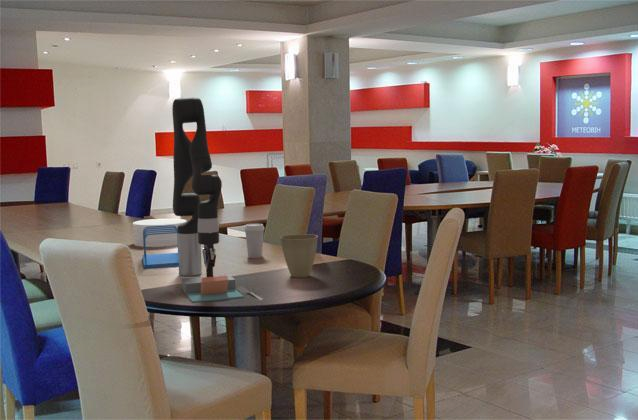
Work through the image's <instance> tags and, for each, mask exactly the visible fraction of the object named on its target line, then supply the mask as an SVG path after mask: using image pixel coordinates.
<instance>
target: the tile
mask: <svg viewBox="0 0 638 420" xmlns="http://www.w3.org/2000/svg"><path fill="white" fill-rule="evenodd" d="M214 276H215V277H205V276H203V277H204V278H202V281H201V294H202V295H209V294H219V293H227V287H228V277H227V276H217V275H214Z"/></svg>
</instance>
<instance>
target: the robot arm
mask: <svg viewBox="0 0 638 420" xmlns="http://www.w3.org/2000/svg"><path fill="white" fill-rule="evenodd" d="M171 109H172V123H173V194H172V195H173V196H172V210H173V214H174V215H175V216H176V217H190V216H191V218H190V219H189V220H188V221H187V222H186V223H184V224H181V225H179V226H178V228H177V232H178V245H177V253H178V258H179V266H178V275H180V276H184V277H189V276H190V277H191V276H192V277H193V276H199V275H201V274H202V273H203V270H202V267H203V266H202V258H203V263H204V265H205V269H206V270H205V272H206V274H205V276H206V277H213V276H214V267H215V266H216V265H215V264H216V258H217V254H216V248H215V247H214V245H216V244H217V245H218V244H219V243H220V230H219V229H220V226H219V225H220V224H219V218H218V214H219V213H218V206H219V201H220V200H219V199H220V195H221V192H222V187H223V186H222V185H223V182H222V179H221V178H220V176H218V174H204V173H208V172H209V171H211V169H212V168H213V163H212V158H211V155H210V151H209V145H208V137H207V127H206V125H207V124H206V118H205V117H206V116H205V110H204V105H203V102H202V100H201V98H199V97H180V98H176V99H174V100H173V102H172V108H171ZM191 123H196V129H195V130H196V131H195V133H194V136H193V139H192V140H191V139H190V138H189V137H188V135H187V134H186V132H185V130H184V126H183V125H184V124H191ZM191 178H192V180H191ZM190 180H191V190H192V192H187V193H183V192H184V189H185V187H186V185H187V184H188V182H189V181H190ZM204 195H205V196H206V195H209V197H208V198H207V199H206V200H202V201H201V198H200V196H204ZM202 245H203V248H202ZM202 256H203V257H202Z"/></svg>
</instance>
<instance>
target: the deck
mask: <svg viewBox="0 0 638 420" xmlns="http://www.w3.org/2000/svg"><path fill="white" fill-rule="evenodd" d="M215 276H227V277H228V287H227V290H231V289H236V279H235V278H234V277H233V276H232V275H230V274H219V275H213V277H215ZM204 277H206V275H204V276H196V277H184V278H181V279H180V282H181V285H180V286H181V290H182V292H183V293H184V294H185V295H186V294H188V293H199V292H201V281H202V278H204Z"/></svg>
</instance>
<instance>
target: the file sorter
mask: <svg viewBox="0 0 638 420" xmlns="http://www.w3.org/2000/svg"><path fill="white" fill-rule="evenodd" d="M169 226H173V227H169ZM152 227H158V228H152ZM146 228H147V229H146ZM146 228H145V229H146V230H147V231H146V230H145V229H144V230H143V245H144V247H143V254H142V262H143V268H144V269H153V268H154V269H155V268H156V269H157V268H167V267H168V268H169V267H179V258H178V252H172V253H171V252H168V253H156V254H155V253H154V254H147V247H146V244H145V239H146V237H147V236H148V235H155V234H171V233H177V242H178V232H177V227H176V226H174V225H165V226H149V227H146ZM163 228H173V229H163ZM174 228H175V229H174ZM148 229H154V230H148ZM159 230H168V231H159ZM145 231H146V232H147V233H146V232H145ZM148 231H152V232H148ZM156 232H166V233H156ZM145 233H146V234H145ZM148 233H151V234H148Z"/></svg>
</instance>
